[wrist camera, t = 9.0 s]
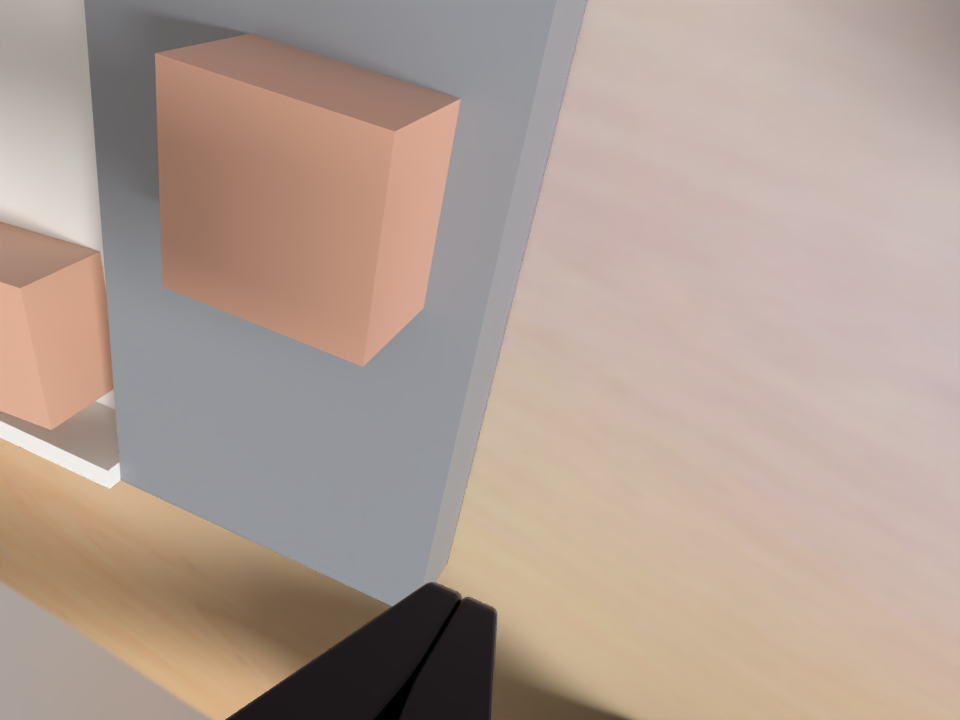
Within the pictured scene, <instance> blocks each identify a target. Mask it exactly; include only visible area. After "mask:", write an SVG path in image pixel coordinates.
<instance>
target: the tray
mask: <svg viewBox="0 0 960 720" xmlns="http://www.w3.org/2000/svg"><path fill="white" fill-rule="evenodd" d="M0 222H3V223H7V224H10V225H13V226H17V227H20V228H23V229H27V230H30V231H33V232H37V233H40V234H43V235H47V236H50V237H53V238H57V239H60V240H63V241H67V242H70V243H73V244H77V245H80V246H84V247H87V248H90V249H94V250H97V251H100V254H101V260H102V267H103V273H104V280H105V269H104V256H103V242H102V229H101V216H100V203H99V190H98V177H97V164H96V151H95V137H94V124H93V111H92V98H91V85H90V72H89V59H88V45H87V32H86V19H85V6H84V0H0ZM105 286H106V282H105ZM0 438H2V439H4V440H7V441H9V442H11V443H13V444H15V445H17V446H19V447H21V448H24V449H26V450H28V451H30V452H32V453H34V454H36V455H38V456H41V457H43V458H45V459H47V460H49V461H51V462H53V463H56V464H58V465H60V466H62V467H64V468H66V469H68V470H70V471H73V472H75V473H77V474H79V475H81V476H83V477H85V478H87V479H90V480H92V481H94V482H96V483H98V484H100V485H102V486H104V487H107V488H109V489H110V488H111V487H113V486H114V485H115V484H116V483H118V482H119V481H120V480H121V479H120V466H119V452H118V439H117V426H116V413H115V400H114V389H113V390H111V391H110V392H108V393H107V394H105V395H104V396H102V397H101V398H99V399H98V400H96V401H95V402H93V403H92V404H90V405H89V406H87V407H86V408H84V409H83V410H81V411H80V412H78V413H77V414H75V415H74V416H72V417H71V418H69V419H68V420H66V421H65V422H63V423H62V424H60V425H58V426H57V427H55V428H54V429H52V430H49V429H47V428H44V427H41V426H39V425H36V424H33V423H31V422H28V421H25V420H23V419H20V418H18V417H15V416H12V415H10V414H7V413H4V412H2V411H0Z"/></svg>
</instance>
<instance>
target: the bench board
mask: <svg viewBox="0 0 960 720" xmlns="http://www.w3.org/2000/svg"><path fill="white" fill-rule="evenodd" d="M586 3H587V0H84V6H85V19H86V32H87V45H88V59H89V72H90V85H91V98H92V111H93V124H94V137H95V151H96V164H97V177H98V190H99V203H100V216H101V229H102V242H103V256H104V269H105V282H106V295H107V308H108V321H109V334H110V347H111V361H112V374H113V387H114V400H115V413H116V426H117V439H118V452H119V466H120V479H121V480H122V481H124V482H126V483H128V484H130V485H132V486H134V487H137V488H139V489H141V490H143V491H145V492H147V493H149V494H152V495H154V496H156V497H158V498H160V499H162V500H164V501H167V502H169V503H171V504H173V505H175V506H177V507H180V508H182V509H184V510H186V511H188V512H190V513H192V514H195V515H197V516H199V517H201V518H203V519H205V520H207V521H210V522H212V523H214V524H216V525H218V526H220V527H222V528H225V529H227V530H229V531H231V532H233V533H235V534H238V535H240V536H242V537H244V538H246V539H248V540H250V541H253V542H255V543H257V544H259V545H261V546H263V547H265V548H268V549H270V550H272V551H274V552H276V553H278V554H281V555H283V556H285V557H287V558H289V559H291V560H293V561H296V562H298V563H300V564H302V565H304V566H306V567H308V568H311V569H313V570H315V571H317V572H319V573H321V574H323V575H326V576H328V577H330V578H332V579H334V580H336V581H339V582H341V583H343V584H345V585H347V586H349V587H351V588H354V589H356V590H358V591H360V592H362V593H364V594H366V595H369V596H371V597H373V598H375V599H377V600H379V601H381V602H384V603H386V604H388V605H390V606H394V605H395V604H396V603H398V602H399V601H401V600H402V599H404V598H405V597H407V596H408V595H410V594H411V593H413V592H414V591H416V590H417V589H419V588H420V587H422V586H423V585H425V584H426V583H429V582H435V583H436V581H437V579H438V578H439V576H440V574H441V573H442V571H443V569H444V567H445V566H446V564H447V562H448V558H449V554H450V550H451V546H452V542H453V538H454V534H455V530H456V526H457V522H458V518H459V514H460V510H461V506H462V502H463V498H464V493H465V489H466V485H467V481H468V477H469V473H470V469H471V465H472V461H473V457H474V453H475V449H476V445H477V441H478V437H479V433H480V429H481V425H482V421H483V417H484V413H485V409H486V405H487V401H488V397H489V393H490V389H491V385H492V381H493V377H494V373H495V369H496V365H497V361H498V357H499V353H500V349H501V345H502V341H503V337H504V333H505V329H506V325H507V321H508V317H509V313H510V309H511V305H512V300H513V296H514V292H515V288H516V284H517V280H518V276H519V272H520V268H521V264H522V260H523V256H524V252H525V248H526V244H527V240H528V236H529V232H530V228H531V224H532V220H533V216H534V212H535V208H536V204H537V200H538V196H539V192H540V188H541V184H542V180H543V176H544V172H545V168H546V164H547V160H548V156H549V152H550V148H551V144H552V140H553V136H554V132H555V128H556V124H557V120H558V116H559V111H560V107H561V103H562V99H563V95H564V91H565V87H566V83H567V79H568V75H569V71H570V67H571V63H572V59H573V55H574V51H575V47H576V43H577V39H578V35H579V31H580V27H581V23H582V19H583V15H584V11H585V7H586ZM246 34H254V35H257V36H260V37H264V38H267V39H270V40H273V41H277V42H280V43H283V44H286V45H289V46H293V47H296V48H299V49H302V50H305V51H309V52H312V53H315V54H318V55H322V56H325V57H328V58H331V59H334V60H338V61H341V62H344V63H347V64H351V65H354V66H357V67H360V68H363V69H367V70H370V71H373V72H376V73H379V74H383V75H386V76H389V77H392V78H396V79H399V80H402V81H405V82H408V83H412V84H415V85H418V86H421V87H424V88H428V89H431V90H434V91H437V92H441V93H444V94H447V95H450V96H453V97H457V98H460V99H461V100H460V106H459V111H458V117H457V123H456V128H455V134H454V139H453V145H452V151H451V156H450V162H449V167H448V173H447V179H446V184H445V190H444V195H443V201H442V207H441V212H440V218H439V223H438V229H437V235H436V240H435V246H434V251H433V257H432V263H431V268H430V274H429V279H428V285H427V291H426V296H425V302H424V308H423V309H422V310H421V311H420V312H419V313H418V314H417V315H416V316H415V317H414V318H413V319H412V320H411V321H410V322H409V323H408V324H407V325H406V326H405V327H404V328H402V329H401V330H400V331H399V332H398V333H397V334H396V335H395V336H394V337H393V338H392V339H391V340H390V341H389V342H388V343H387V344H386V345H385V346H384V347H383V348H382V349H381V350H380V351H379V352H378V353H377V354H376V355H375V356H374V357H373V358H372V359H370V360H369V361H368V362H367V363H366V364H365V365H364V366H363V367H362V366H360V365H357V364H355V363H352V362H350V361H347V360H345V359H342V358H340V357H337V356H335V355H332V354H330V353H327V352H325V351H322V350H320V349H317V348H315V347H312V346H310V345H307V344H305V343H302V342H300V341H297V340H295V339H292V338H290V337H287V336H285V335H282V334H280V333H277V332H274V331H272V330H269V329H267V328H264V327H262V326H259V325H257V324H254V323H252V322H249V321H247V320H244V319H242V318H239V317H237V316H234V315H232V314H229V313H227V312H224V311H222V310H219V309H217V308H214V307H212V306H209V305H207V304H204V303H202V302H199V301H197V300H194V299H192V298H189V297H187V296H184V295H182V294H179V293H177V292H174V291H172V290H169V289H167V288H164V287H162V261H161V229H160V198H159V166H158V134H157V102H156V70H155V53H158V52H163V51H168V50H173V49H178V48H183V47H188V46H192V45H197V44H202V43H207V42H212V41H217V40H222V39H227V38H232V37H237V36H241V35H246Z"/></svg>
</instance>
